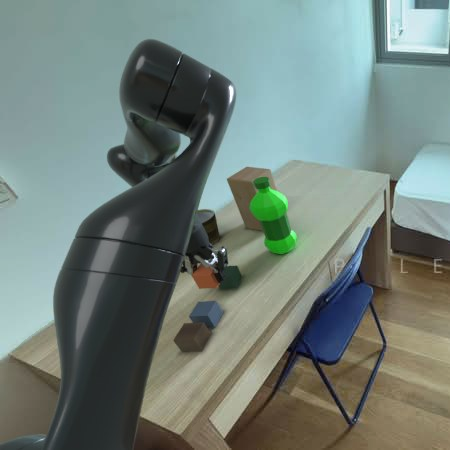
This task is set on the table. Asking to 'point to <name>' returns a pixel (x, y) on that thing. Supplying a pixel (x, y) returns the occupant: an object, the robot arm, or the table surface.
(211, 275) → the block
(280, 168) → the table surface
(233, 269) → the block
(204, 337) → the block
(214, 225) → the ceramic cup
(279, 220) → the plastic bottle
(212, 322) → the block
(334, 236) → the table surface
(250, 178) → the wooden block
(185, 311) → the table surface
